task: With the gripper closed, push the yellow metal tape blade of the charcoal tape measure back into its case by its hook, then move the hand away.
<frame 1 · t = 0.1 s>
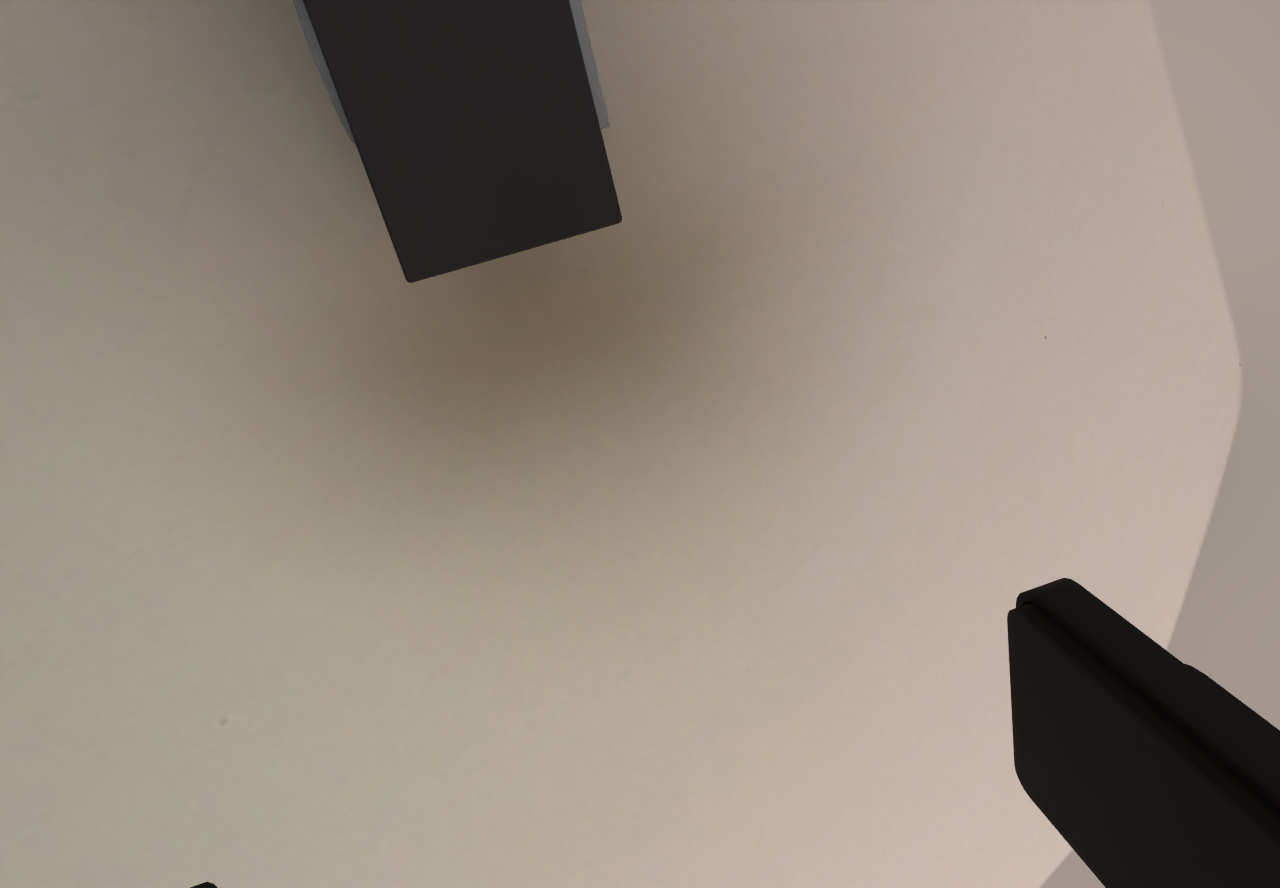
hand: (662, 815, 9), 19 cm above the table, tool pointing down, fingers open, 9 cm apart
tape case: (442, 32, 22), on the table
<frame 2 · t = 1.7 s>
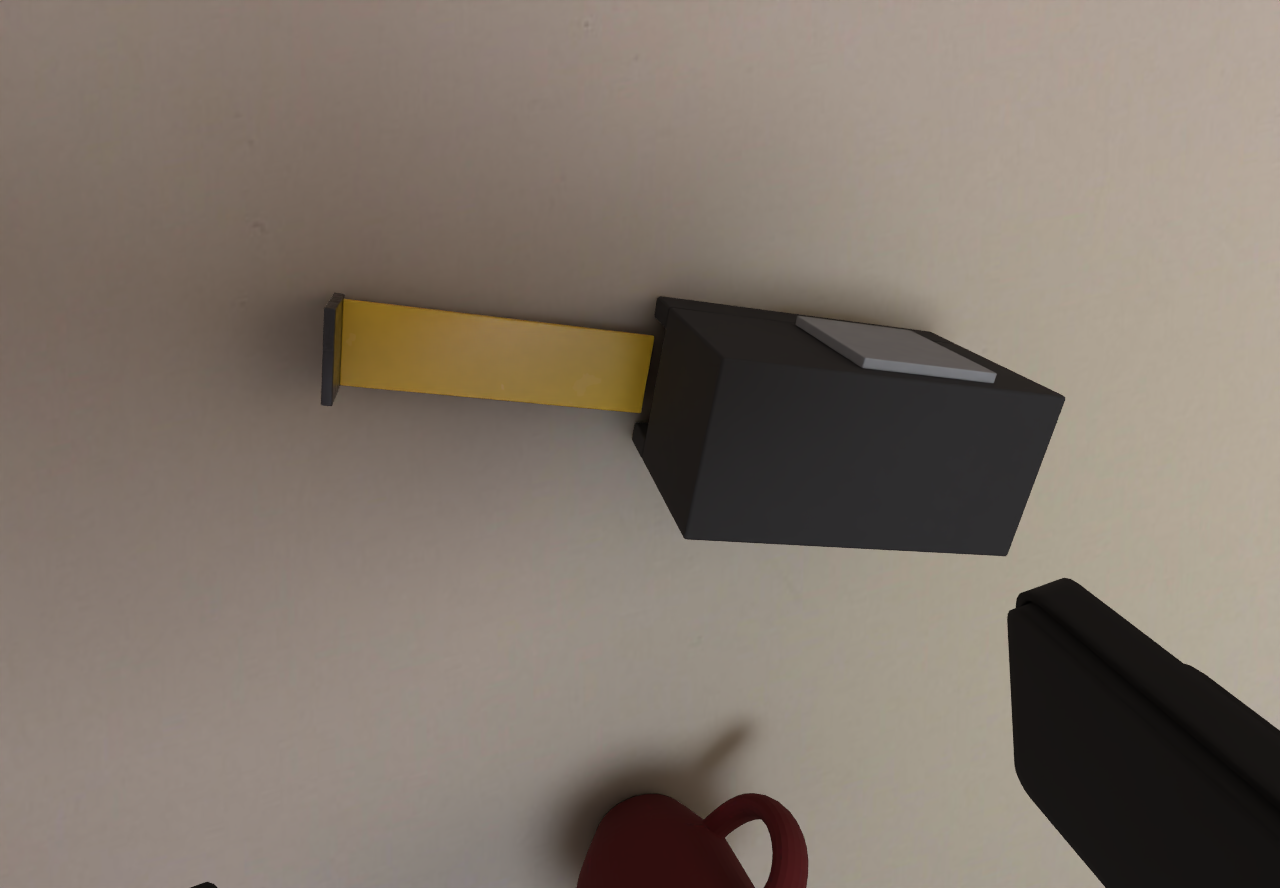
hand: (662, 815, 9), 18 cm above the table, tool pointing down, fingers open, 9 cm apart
tape case: (783, 385, 28), on the table
mug: (657, 804, 34), on the table
tape blade: (497, 365, 24), point 1 cm above the table, slide at 9.0 cm
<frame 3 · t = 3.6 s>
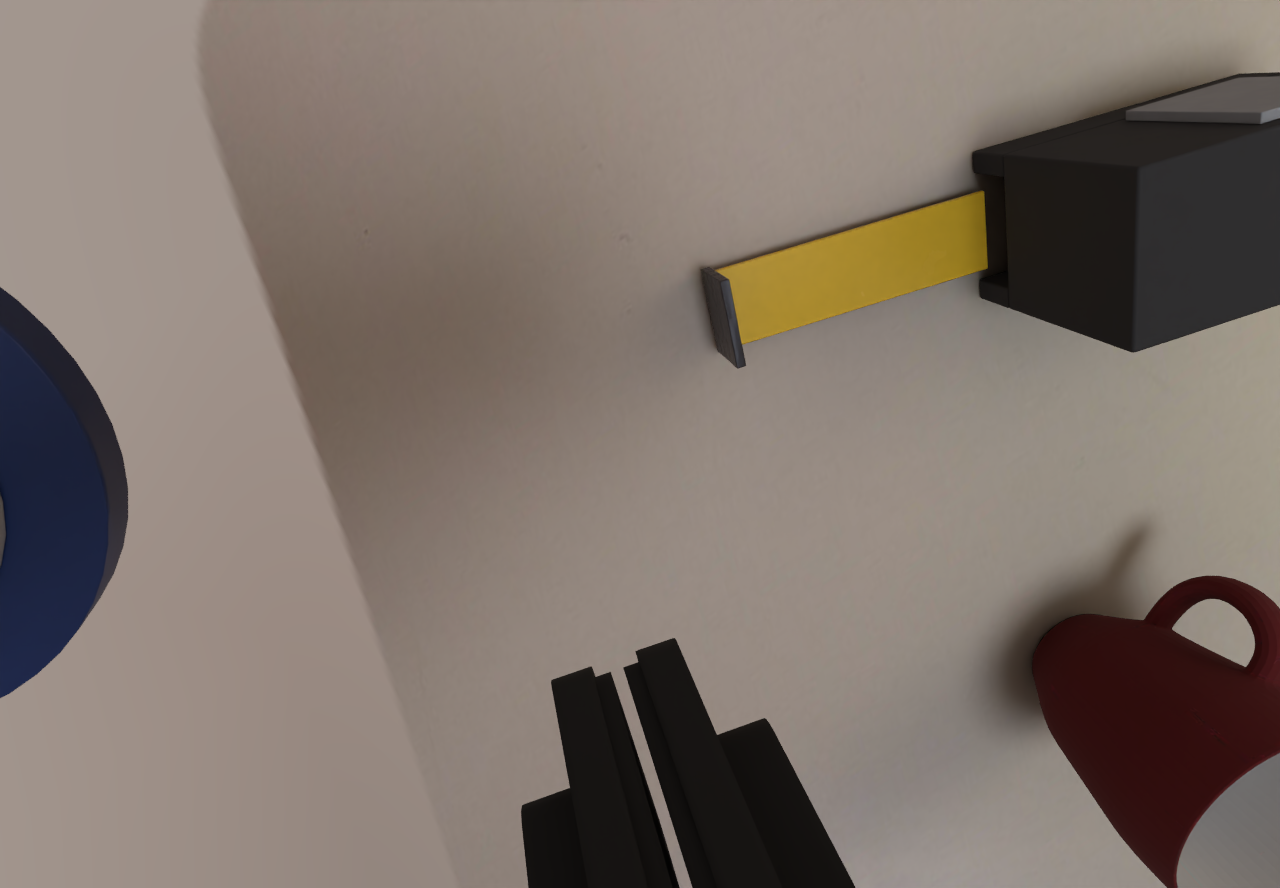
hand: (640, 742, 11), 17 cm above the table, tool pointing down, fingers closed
tape case: (1107, 188, 28), on the table
mug: (1077, 624, 36), on the table
tape blade: (860, 274, 26), point 1 cm above the table, slide at 9.0 cm
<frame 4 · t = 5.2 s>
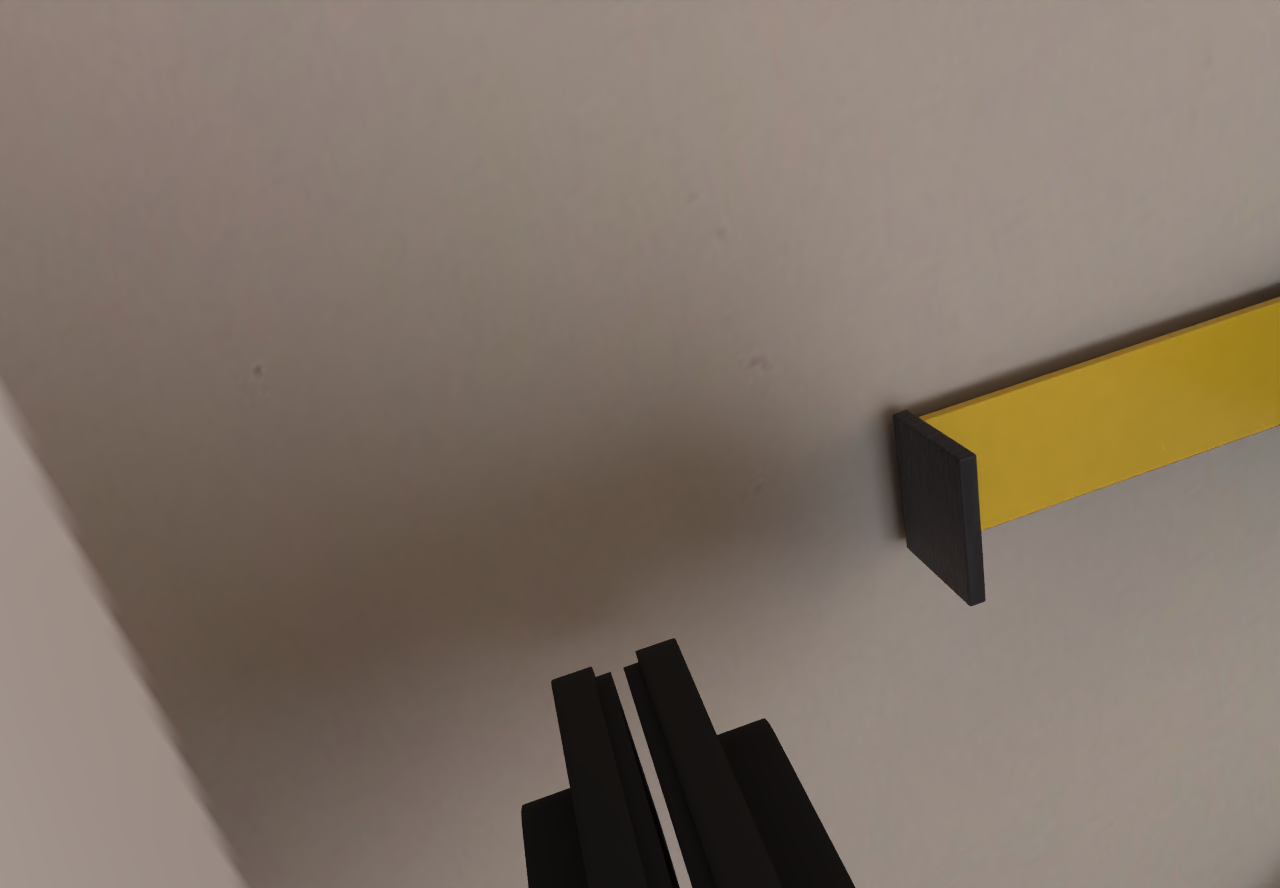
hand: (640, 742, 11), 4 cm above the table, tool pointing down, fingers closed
tape blade: (1179, 421, 14), point 1 cm above the table, slide at 9.0 cm
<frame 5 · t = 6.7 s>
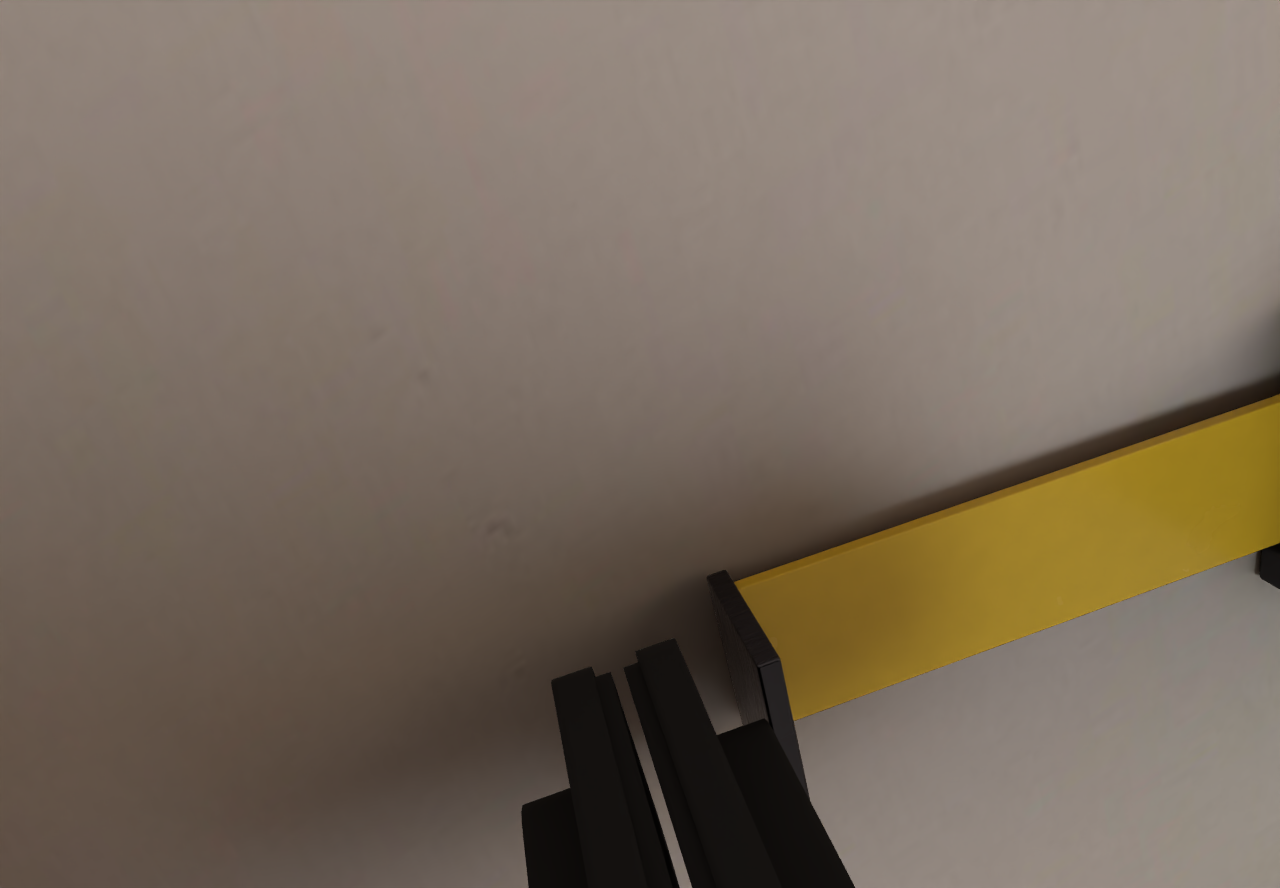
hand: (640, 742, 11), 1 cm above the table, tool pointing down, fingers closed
tape blade: (1071, 582, 11), point 1 cm above the table, slide at 8.7 cm, touching gripper
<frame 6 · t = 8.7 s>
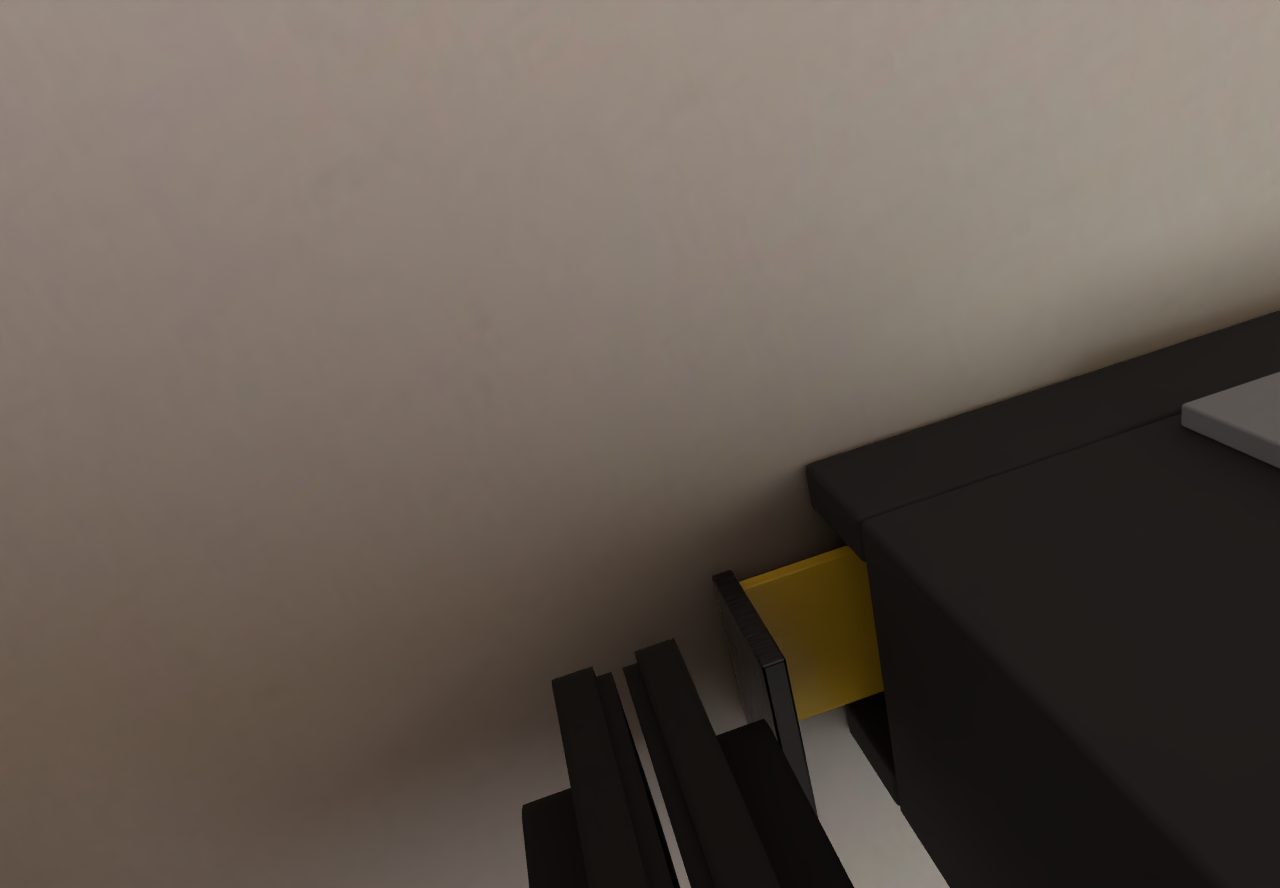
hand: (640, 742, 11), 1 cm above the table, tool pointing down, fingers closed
tape case: (1127, 505, 12), on the table
tape blade: (1078, 584, 11), point 1 cm above the table, slide at 1.0 cm
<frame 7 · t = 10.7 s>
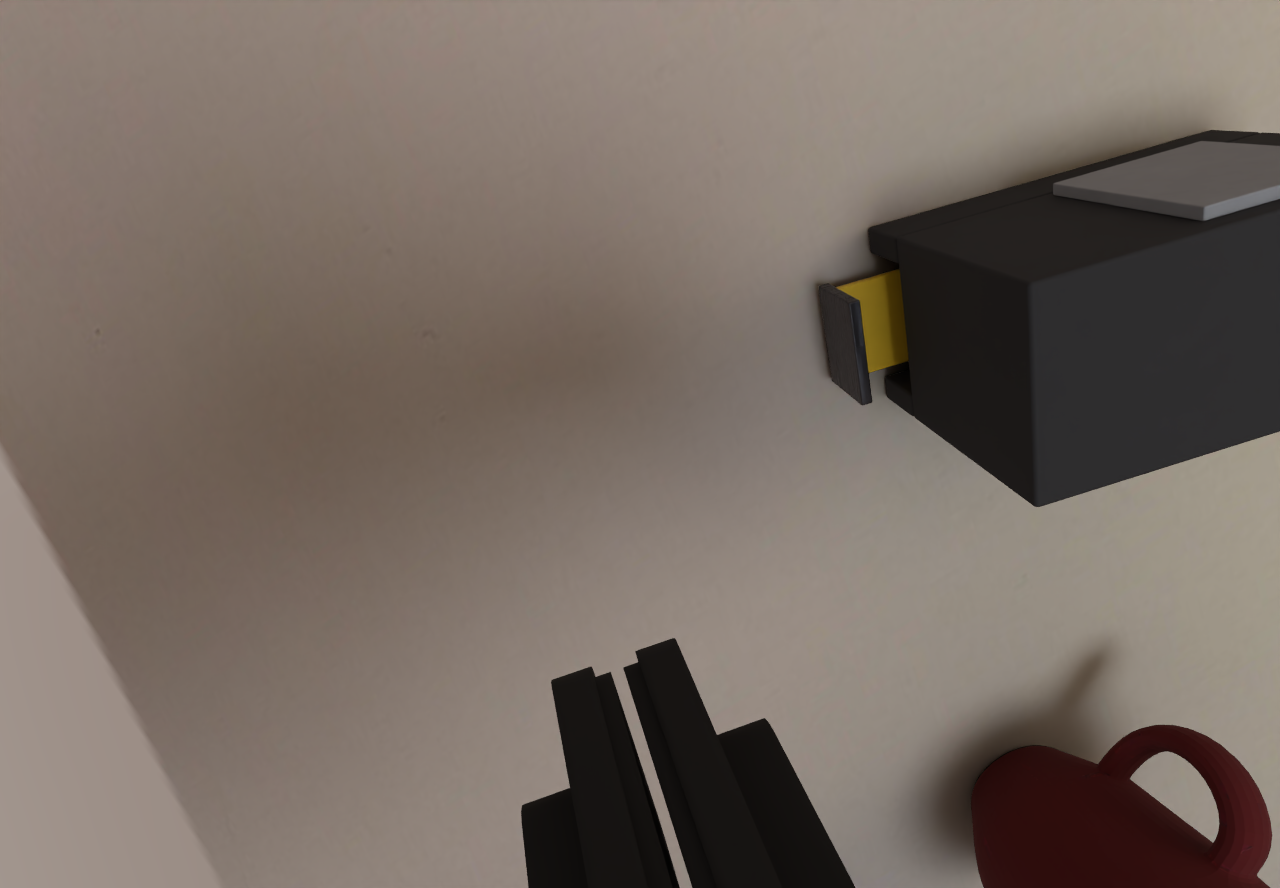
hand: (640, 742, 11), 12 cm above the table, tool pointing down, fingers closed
tape case: (1043, 267, 23), on the table
mug: (1026, 755, 31), on the table
tape blade: (1009, 294, 22), point 1 cm above the table, slide at 1.0 cm
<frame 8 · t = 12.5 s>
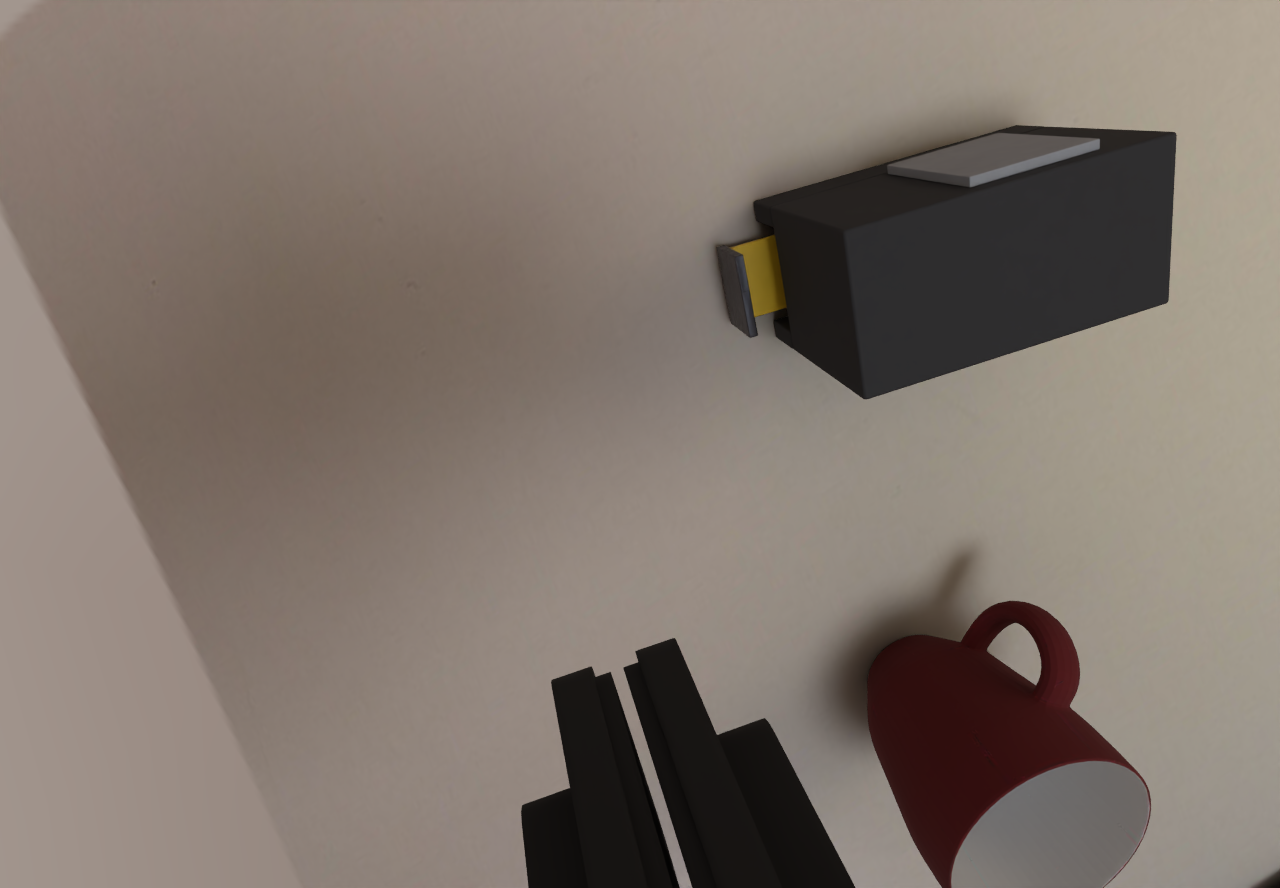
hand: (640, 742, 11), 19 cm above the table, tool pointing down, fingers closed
tape case: (894, 233, 29), on the table
mug: (912, 644, 37), on the table
tape blade: (863, 252, 28), point 1 cm above the table, slide at 1.0 cm
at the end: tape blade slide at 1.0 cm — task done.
